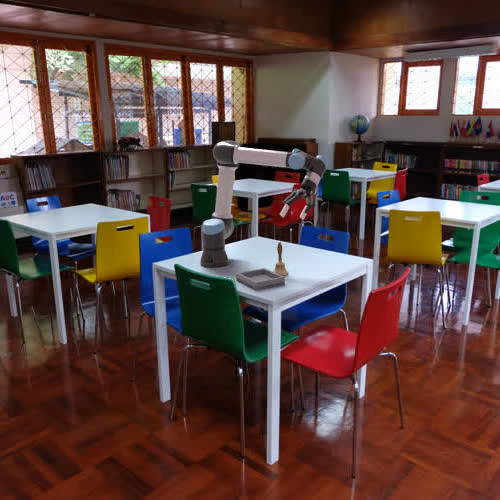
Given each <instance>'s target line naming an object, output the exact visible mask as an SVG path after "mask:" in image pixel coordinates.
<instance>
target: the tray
mask: <svg viewBox="0 0 500 500" xmlns="http://www.w3.org/2000/svg"><path fill="white" fill-rule="evenodd" d="M235 279H236V281H237V282H239V283H241V284H243V285H244V286H246V287H248V288H250V289H252V290H253V291H258V290H265V289H267V288H273V287H279V286H284V285H285V283H286V277H285V276H281V275H279V274H277V273H274V272H273V270H270V269H267V268H265V267H263V268H258V269H252V270H247V271H240V272H236V273H235Z"/></svg>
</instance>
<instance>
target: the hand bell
mask: <svg viewBox="0 0 500 500" xmlns="http://www.w3.org/2000/svg"><path fill="white" fill-rule="evenodd" d="M276 248H277V249H276V250H277V254H278V256H277V258H278V261H277V262H275V265H274V269H273V270H272V272H274V273H277V274H279V275H281V276H283V277H285V276H287V275H289V271H288V270H287V268H286V265H285V262H283V260H282V258H283V257H282V254H283V245H282V242H281V241H280V242H278V243H277V246H276Z"/></svg>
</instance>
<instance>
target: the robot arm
mask: <svg viewBox="0 0 500 500" xmlns="http://www.w3.org/2000/svg"><path fill="white" fill-rule="evenodd" d="M212 155H213V159H214V160H215V161H216V167H218V178H217V187H216V197H215V207H214V208H215V209H214V210H215V211H214V212H213V213H212V214H211V218H210V219H207V220H204V221H203V222H202V226H201V230H202V231H201V233H202V252H201V256H200V265H201V266H202V267H206V268H221V267H225V266H227V265H229V257H228V254H227V251H226V242H225V240H226V239H227V238H229V237H230V236H231V235H232V234H233V233H234V229H235V225H234V221H233V219H234V216H233V214H232V213H231V212H232V202H233V193H234V183H235V173H236V170H237V169H238V168H239V163H240V164H250V165H260V166H268V167H269V166H270V167H279V168H289V169H293V170H300V169H303V170H305V171H307V172H306V175H305V177H304V178H303V181H302V182H301V183H300V188H299V189H297V188H294V189H293V191H292V192H291V193H290V194H289V195H288V196H286V198H285V199H284V200H283V201H282V203H283V204H284V205H283V207H282V209H281V211H280V213H279V215H280V216H281V217H282V218H284V217H285V216H286V214H287V213H288V211H289V209H290V206H291V205H293V204H295V203H296V202H297V201H298V200H301V199H302V200H303V199H304V200H305V202H306V205H305V206H304V208H303V209H302V211H301V213H300V215H299V218H300V219H301V220H303V221H304V219H305V218H306V216H307V214H309V212H310V211H311V209H312V208H313V209H315V207H316V200H317V194H318V192H317V191H316V189H317V186H318V184H319V183H320V181H321V179H322V178H323V176H324V174H325V173H326V171H327V169H328V167H329V164H330V160H329V159H328V157H326V156H324V155H319V154H318V155H317V156H312V155H310V154H309V153H306V152H304V151H302V150H300V149H298V148H294V149H293V150H292V152H289V151H279V150H270V149H269V150H268V149H260V148H252V147H251V148H250V147H249V148H248V147H241V146H240V144H239V143H238V142H237V141H235V140H230V139H228V140H223V141H218V142H217V143H216V144H215V145H214V147H213V149H212Z"/></svg>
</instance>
